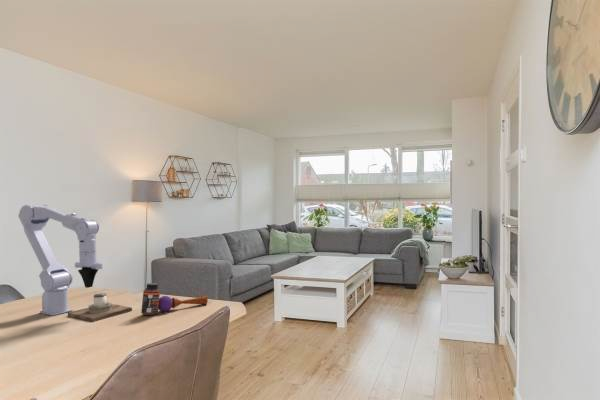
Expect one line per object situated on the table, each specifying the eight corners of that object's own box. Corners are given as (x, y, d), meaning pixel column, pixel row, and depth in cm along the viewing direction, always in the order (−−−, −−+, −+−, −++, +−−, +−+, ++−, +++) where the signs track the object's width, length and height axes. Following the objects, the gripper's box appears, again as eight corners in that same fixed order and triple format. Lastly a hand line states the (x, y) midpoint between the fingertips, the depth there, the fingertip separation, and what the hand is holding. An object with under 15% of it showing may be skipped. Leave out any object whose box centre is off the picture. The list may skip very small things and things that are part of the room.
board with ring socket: (67, 315, 150) (67, 307, 150) (106, 305, 164) (106, 298, 164) (93, 321, 142) (92, 312, 142) (131, 310, 156) (131, 302, 156)
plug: (91, 310, 152) (91, 295, 152) (101, 308, 156) (101, 292, 156) (98, 312, 150) (98, 296, 150) (109, 309, 154) (108, 293, 154)
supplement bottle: (152, 316, 146) (154, 285, 147) (137, 314, 147) (140, 283, 148) (161, 313, 151) (163, 283, 152) (147, 311, 153) (149, 282, 154)
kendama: (209, 295, 161) (160, 299, 149) (207, 309, 162) (158, 314, 150) (204, 290, 166) (155, 294, 154) (202, 304, 167) (153, 308, 155)
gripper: (66, 252, 152) (67, 287, 152) (88, 253, 145) (89, 290, 144) (84, 250, 158) (85, 284, 158) (106, 251, 151) (107, 286, 151)
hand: (88, 287), depth 152 cm, fingers closed
